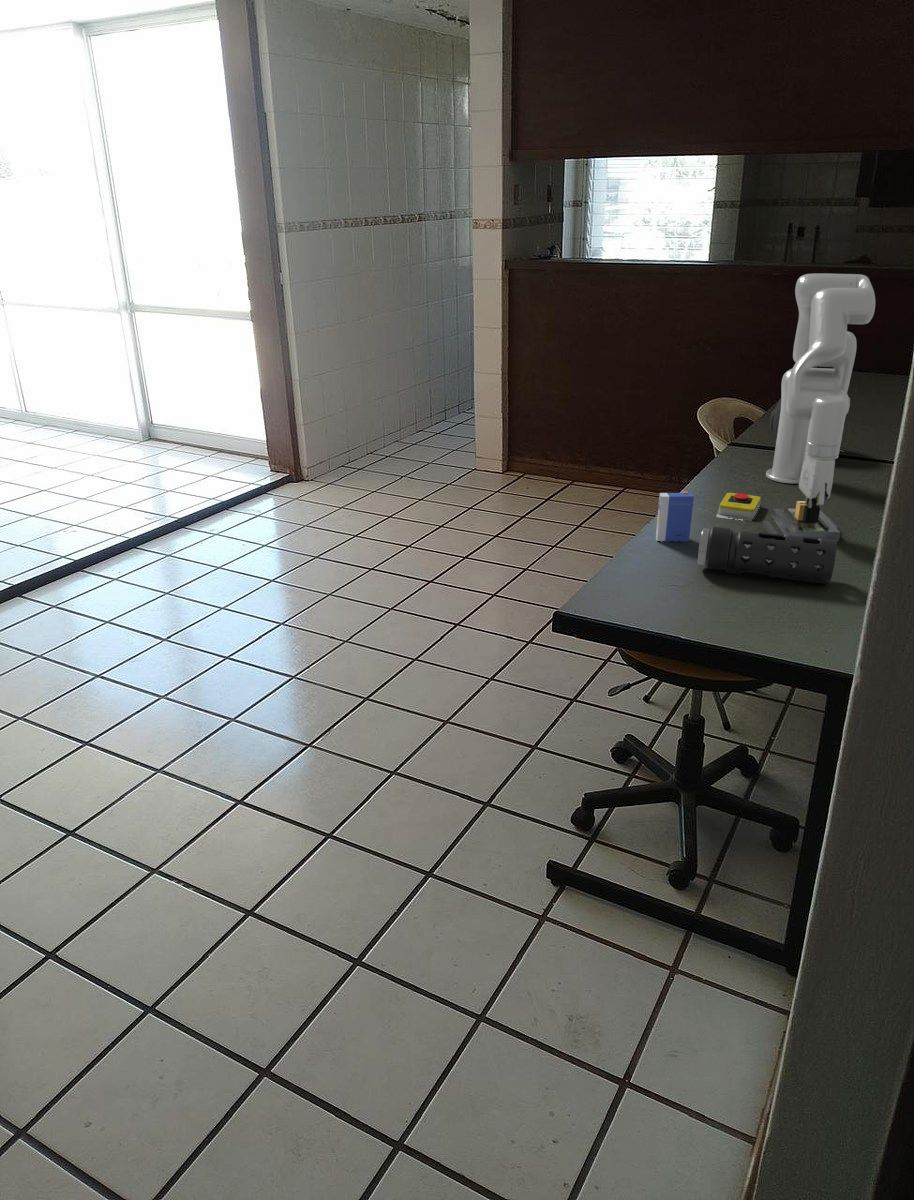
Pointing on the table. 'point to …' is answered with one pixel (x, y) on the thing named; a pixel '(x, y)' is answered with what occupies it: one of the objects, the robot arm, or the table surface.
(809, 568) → the muzzle brake
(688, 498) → the walkman
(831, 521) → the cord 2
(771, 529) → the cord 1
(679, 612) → the table surface
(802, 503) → the cardboard box
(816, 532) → the panel
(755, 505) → the emergency button
